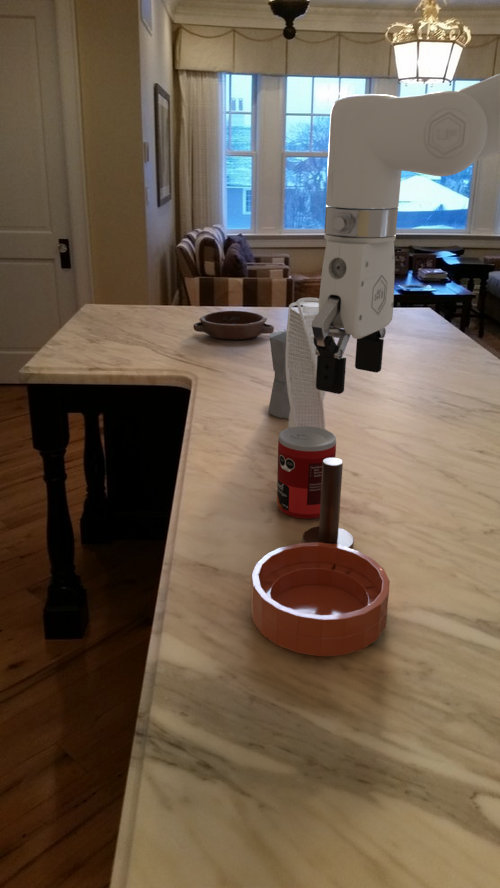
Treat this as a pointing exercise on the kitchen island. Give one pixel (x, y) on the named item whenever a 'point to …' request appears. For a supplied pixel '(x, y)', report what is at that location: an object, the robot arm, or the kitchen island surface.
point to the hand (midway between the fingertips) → (349, 380)
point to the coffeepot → (279, 376)
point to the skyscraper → (303, 367)
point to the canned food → (302, 469)
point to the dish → (233, 325)
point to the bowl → (319, 598)
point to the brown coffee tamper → (330, 508)
